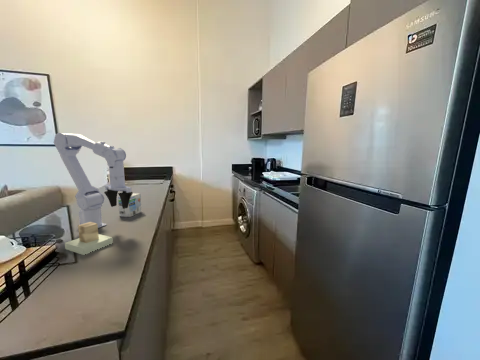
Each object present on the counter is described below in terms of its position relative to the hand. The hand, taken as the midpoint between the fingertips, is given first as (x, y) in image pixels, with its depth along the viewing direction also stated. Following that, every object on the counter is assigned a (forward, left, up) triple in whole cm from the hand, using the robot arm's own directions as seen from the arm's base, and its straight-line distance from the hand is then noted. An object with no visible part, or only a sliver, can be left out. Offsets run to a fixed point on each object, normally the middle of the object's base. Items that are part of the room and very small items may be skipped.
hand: (119, 207), depth 106 cm
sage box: (+5, -17, -11) cm, 21 cm away
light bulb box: (-17, +19, -11) cm, 28 cm away
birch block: (+5, -17, -8) cm, 19 cm away
